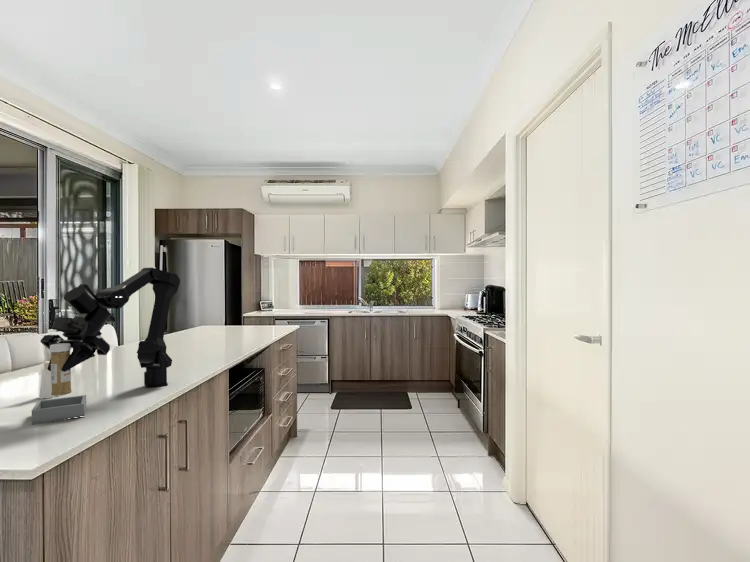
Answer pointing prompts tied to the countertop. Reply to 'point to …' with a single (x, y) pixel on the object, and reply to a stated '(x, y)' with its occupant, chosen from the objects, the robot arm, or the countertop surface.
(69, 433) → the countertop surface
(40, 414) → the tray
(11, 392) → the countertop surface
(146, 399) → the countertop surface
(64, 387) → the sprinkles bottle
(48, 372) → the pepper shaker
